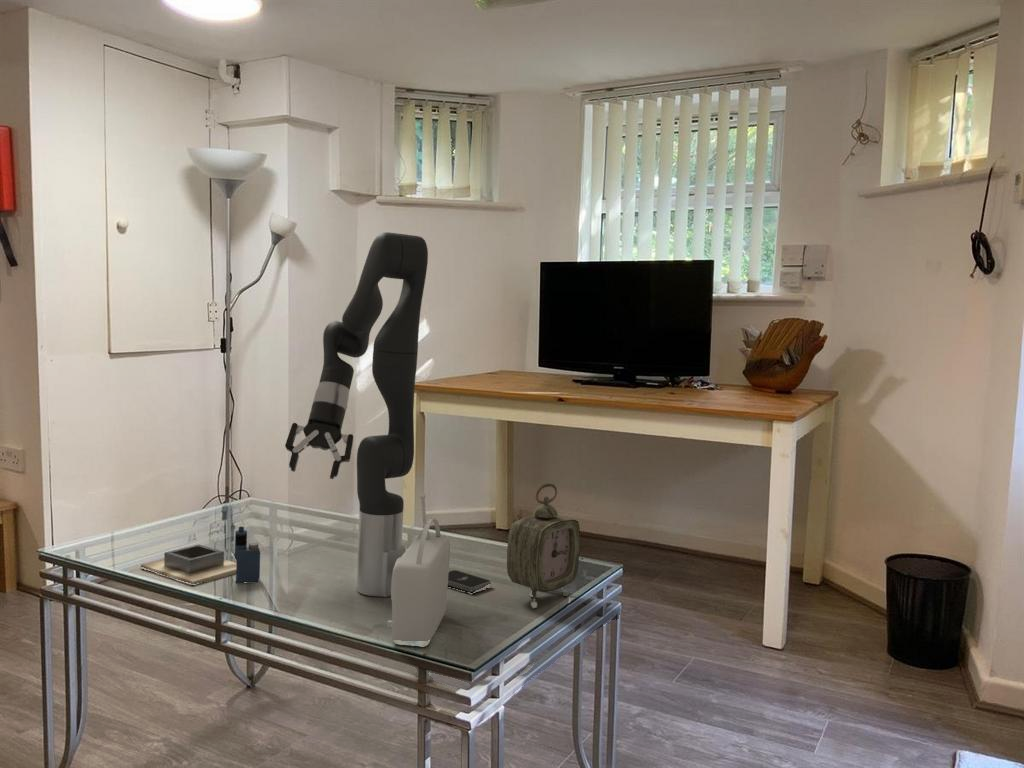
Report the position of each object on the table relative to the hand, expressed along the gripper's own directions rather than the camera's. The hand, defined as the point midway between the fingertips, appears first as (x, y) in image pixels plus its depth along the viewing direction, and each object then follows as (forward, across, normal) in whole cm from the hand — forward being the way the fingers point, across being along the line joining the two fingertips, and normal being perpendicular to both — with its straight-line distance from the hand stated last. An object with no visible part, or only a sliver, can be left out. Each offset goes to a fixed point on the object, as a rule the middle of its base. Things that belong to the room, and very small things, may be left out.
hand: (312, 474), depth 175 cm
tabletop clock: (+18, +53, -6) cm, 57 cm away
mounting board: (+23, -22, +13) cm, 35 cm away
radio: (+29, +28, -20) cm, 45 cm away
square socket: (+23, -22, +13) cm, 35 cm away
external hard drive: (+18, +37, +3) cm, 41 cm away
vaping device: (+24, -9, +6) cm, 27 cm away
